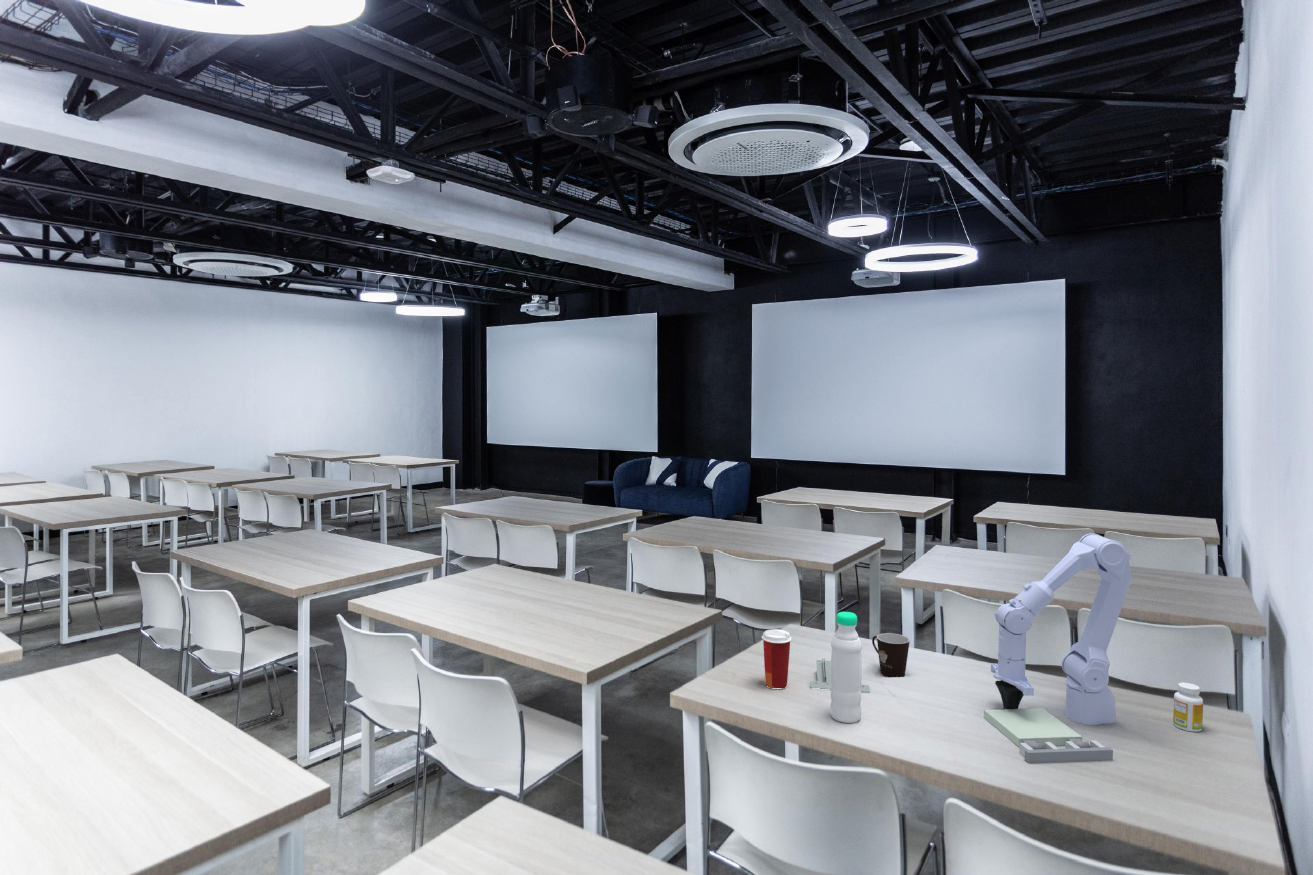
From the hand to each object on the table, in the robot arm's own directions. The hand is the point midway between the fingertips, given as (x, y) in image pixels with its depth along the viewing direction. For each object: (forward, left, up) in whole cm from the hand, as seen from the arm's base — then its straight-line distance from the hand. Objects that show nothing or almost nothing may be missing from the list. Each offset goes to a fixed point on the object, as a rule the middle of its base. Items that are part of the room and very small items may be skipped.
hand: (1010, 713), depth 165 cm
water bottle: (+38, -4, -2) cm, 38 cm away
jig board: (0, +9, -2) cm, 9 cm away
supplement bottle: (-39, +6, -2) cm, 39 cm away
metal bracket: (+33, -26, -2) cm, 42 cm away
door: (0, +10, 0) cm, 10 cm away
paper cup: (+50, -24, -2) cm, 56 cm away
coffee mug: (+16, -31, -2) cm, 35 cm away
